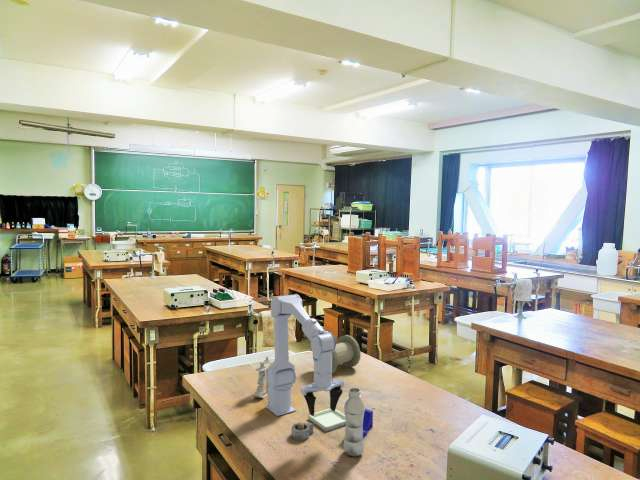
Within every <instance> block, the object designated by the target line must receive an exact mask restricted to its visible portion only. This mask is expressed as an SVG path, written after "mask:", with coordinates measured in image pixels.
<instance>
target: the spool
mask: <svg viewBox="0 0 640 480" xmlns="http://www.w3.org/2000/svg"><path fill="white" fill-rule="evenodd" d="M312 359H313V361H314V357H313V356H312ZM360 360H361V349H360V345H359V343H358V341H357V340H356V338H354V337H353V336H352V335H349V334H345V335H341V336H340V337H338V338H337V340H336V348H335V349H334V350H332V375H333V374H334V373H335V372H336V371H337V368H338V365H342V366H344V365H345V366H344V367H346V366H347V367H346V368H353V367H356V366H357V365H358V364H359V362H360Z"/></svg>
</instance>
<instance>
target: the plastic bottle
mask: <svg viewBox="0 0 640 480" xmlns="http://www.w3.org/2000/svg"><path fill="white" fill-rule="evenodd" d="M361 397H362V395H361V389H360V388H357V387H352V388H349V389H348V399H347V400H346V401H345V403H344V407H343V410H344V415H345V419H346V425H345V430H344V432H345V433H344V439H343V451H344V452H345V454H346V455H348V456H349V457H359V456H361V455H362V454H363V452H364V450H365V439H364V438H363V418H364V411H365V408H366V407H365V404H364V402H363V400H362V399H361Z"/></svg>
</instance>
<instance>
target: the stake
mask: <svg viewBox="0 0 640 480" xmlns="http://www.w3.org/2000/svg"><path fill="white" fill-rule="evenodd" d="M297 423H298V430H304V423H305V422H300V423H299V422H297Z"/></svg>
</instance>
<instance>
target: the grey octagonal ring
mask: <svg viewBox="0 0 640 480" xmlns="http://www.w3.org/2000/svg"><path fill="white" fill-rule="evenodd" d="M298 423H301V422H297V423H293V424H292V426H291V429H290V431H291V438H293V440H294V441H305V440H308V439H310V436H311V435H312V434H314V423H313V422H312V421H311V422H303V423H304V430H298Z"/></svg>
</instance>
